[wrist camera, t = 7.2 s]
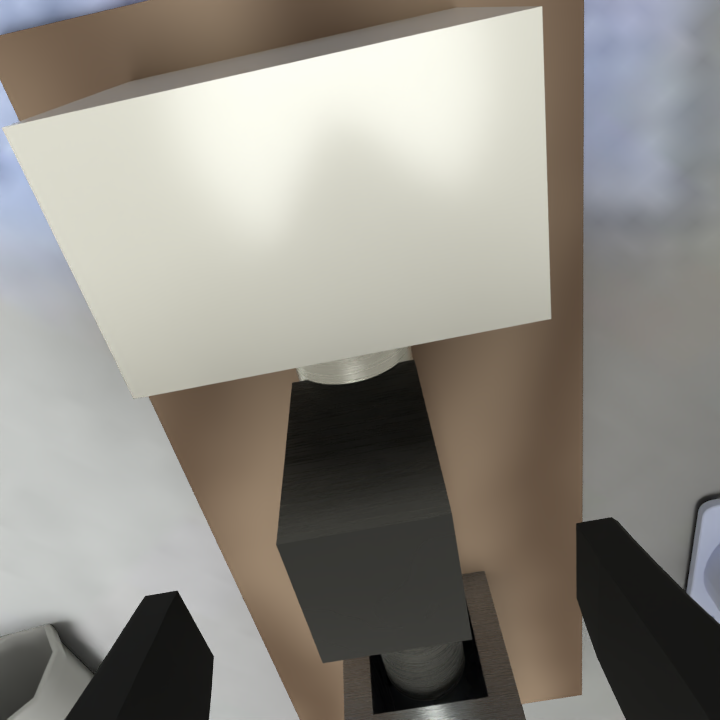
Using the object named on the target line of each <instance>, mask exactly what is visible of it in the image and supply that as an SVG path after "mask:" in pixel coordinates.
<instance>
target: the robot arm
mask: <svg viewBox="0 0 720 720" xmlns="http://www.w3.org/2000/svg"><path fill="white" fill-rule="evenodd" d="M576 598H577V601H578V604H579V607H580V610H581V613H582V616H583V619H584V621H585V624H586V627H587V630H588V633H589V636H590V639H591V641H592V644H593V647H594V650H595V653H596V655H597V658H598V660H599V662H600V665H601V667H602V669H603V671H604V673H605V675H606V678H607V680H608V682H609V684H610V686H611V688H612V691H613V693H614V695H615V697H616V699H617V701H618V703H619V706H620V708H621V710H622V712H623V714H624V716H625V718H626V720H720V624H719V623H720V499H714V500H710V501H707V502H705V503H703V504H702V505H701V506H700V508H699V511H698V517H697V524H696V530H695V537H694V544H693V551H692V558H691V564H690V571H689V578H688V585H687V592H685V591H684V590H683V589H682V588H681V587H680V586H679V585H678V584H677V583H676V582H675V581H674V580H673V579H672V578H671V577H670V576H669V575H668V574H667V573H666V572H665V571H664V570H663V569H662V568H661V567H660V566H659V565H658V564H657V563H656V562H655V561H654V560H653V559H652V558H651V557H650V556H649V554H648V553H647V552H646V551H645V550H644V549H643V548H642V547H641V546H640V545H639V544H638V543H637V542H636V541H635V540H634V539H633V538H632V536H631V535H630V534H629V533H628V532H627V531H626V530H625V529H624V528H623V527H622V526H621V524H620V523H619V522H618V521H616V520H615V519H613V518H612V517H611V518H605V519H599V520H593V521H587V522H581V523H576ZM213 659H214V656H213V654H212V653H211V651H210V649H209V647H208V645H207V643H206V642H205V640H204V638H203V636H202V634H201V633H200V631H199V629H198V627H197V625H196V624H195V622H194V620H193V618H192V616H191V614H190V613H189V611H188V609H187V607H186V605H185V604H184V602H183V600H182V598H181V596H180V595H179V593H178V591H173V592H167V593H161V594H155V595H149V596H145V597H144V599H143V600H142V602H141V603H140V605H139V606H138V608H137V609H136V611H135V612H134V614H133V615H132V617H131V618H130V620H129V621H128V623H127V625H126V626H125V628H124V629H123V631H122V632H121V634H120V636H119V637H118V639H117V640H116V642H115V643H114V645H113V646H112V648H111V650H110V651H109V653H108V654H107V656H106V657H105V659H104V660H103V662H102V664H101V665H100V667H99V668H98V670H97V671H96V673H95V674H94V676H93V678H92V679H91V681H90V682H89V684H88V685H87V687H86V688H85V690H84V691H83V693H82V694H81V696H80V697H79V699H78V700H77V702H76V703H75V705H74V706H73V708H72V709H71V711H70V712H69V713H68V715H67V716H66V718H65V719H64V720H209V712H210V701H211V690H212V675H213Z"/></svg>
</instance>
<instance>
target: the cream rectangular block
mask: <svg viewBox="0 0 720 720" xmlns="http://www.w3.org/2000/svg"><path fill="white" fill-rule="evenodd" d="M2 129H3V131H4V133H5V135H6V137H7V139H8V141H9V143H10V145H11V148H12V150H13V152H14V154H15V156H16V158H17V160H18V162H19V164H20V166H21V168H22V170H23V172H24V174H25V176H26V178H27V180H28V183H29V185H30V187H31V189H32V191H33V193H34V195H35V197H36V199H37V201H38V203H39V205H40V207H41V209H42V211H43V213H44V215H45V218H46V220H47V222H48V224H49V226H50V228H51V230H52V232H53V234H54V236H55V238H56V240H57V242H58V244H59V246H60V248H61V250H62V252H63V255H64V257H65V259H66V261H67V263H68V265H69V267H70V269H71V271H72V273H73V275H74V277H75V279H76V281H77V283H78V285H79V287H80V290H81V292H82V294H83V296H84V298H85V300H86V302H87V304H88V306H89V308H90V310H91V312H92V314H93V316H94V318H95V320H96V322H97V324H98V327H99V329H100V331H101V333H102V335H103V337H104V339H105V341H106V343H107V345H108V347H109V349H110V351H111V353H112V355H113V357H114V359H115V362H116V364H117V366H118V368H119V370H120V372H121V374H122V376H123V378H124V380H125V382H126V384H127V386H128V388H129V390H130V392H131V394H132V397H133V399H137V398H142V397H147V396H153V395H158V394H163V393H168V392H173V391H179V390H184V389H189V388H194V387H199V386H205V385H210V384H215V383H220V382H225V381H231V380H236V379H241V378H246V377H251V376H257V375H262V374H267V373H272V372H277V371H283V370H288V369H293V368H298V367H303V366H309V365H314V364H319V363H324V362H329V361H335V360H340V359H345V358H350V357H355V356H361V355H366V354H371V353H376V352H381V351H387V350H392V349H397V348H402V347H407V346H413V345H418V344H423V343H428V342H433V341H439V340H444V339H449V338H454V337H459V336H465V335H470V334H475V333H480V332H485V331H491V330H496V329H501V328H506V327H511V326H517V325H522V324H527V323H532V322H537V321H543V320H548V319H551V295H550V260H549V225H548V191H547V156H546V121H545V86H544V51H543V17H542V6H521V7H455V8H451V9H447V10H442V11H438V12H433V13H429V14H425V15H420V16H416V17H411V18H407V19H402V20H398V21H394V22H389V23H385V24H380V25H376V26H372V27H367V28H363V29H358V30H354V31H350V32H345V33H341V34H336V35H332V36H328V37H323V38H319V39H314V40H310V41H306V42H301V43H297V44H292V45H288V46H283V47H279V48H275V49H270V50H266V51H261V52H257V53H253V54H248V55H244V56H239V57H235V58H231V59H226V60H222V61H217V62H213V63H209V64H204V65H200V66H195V67H191V68H187V69H182V70H178V71H173V72H169V73H164V74H160V75H156V76H151V77H147V78H142V79H138V80H134V81H129V82H127V83H124V84H121V85H118V86H116V87H113V88H110V89H107V90H105V91H102V92H99V93H96V94H94V95H91V96H88V97H85V98H83V99H80V100H77V101H74V102H72V103H69V104H66V105H63V106H61V107H58V108H55V109H52V110H49V111H47V112H44V113H41V114H38V115H36V116H33V117H30V118H27V119H25V120H22V121H19V122H16V123H14V124H11V125H8V126H5V127H3V128H2Z"/></svg>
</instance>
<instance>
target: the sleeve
mask: <svg viewBox="0 0 720 720" xmlns="http://www.w3.org/2000/svg"><path fill="white" fill-rule="evenodd" d="M462 579H463V586H464V592H465V598H466V605H467V611H468V617H469V623H470V630H471V636H472V640H465V641H462V644H463V649H464V655H465V668H464V672H463V675H462V677H461V680H460V681H459V683H458V684H457V686H456V687H455V688H454V689H453V690H452V691H451V692H449V693H448V694H447V695H445V696H443V697H441V698H439V699H436V700H431V701H418V700H413V699H410V698H408V697H406V696H404V695H402V694H401V693H399V692H398V691H397V690H396V689H395V688H394V686H393V685H392V684H391V682H390V680H389V678H388V676H387V673H386V669H385V666H384V663H383V659H382V656H381V654H378V655H372V656H366V657H359V658H353V659H347V660H343V681H344V720H526V719H525V715H524V711H523V708H522V704H521V700H520V697H519V693H518V690H517V686H516V682H515V679H514V675H513V672H512V668H511V664H510V661H509V657H508V654H507V650H506V646H505V643H504V639H503V636H502V632H501V628H500V625H499V621H498V617H497V614H496V610H495V607H494V603H493V599H492V596H491V592H490V589H489V585H488V581H487V578H486V574H485V571H479V572H473V573H467V574H462Z"/></svg>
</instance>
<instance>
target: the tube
mask: <svg viewBox="0 0 720 720" xmlns="http://www.w3.org/2000/svg"><path fill="white" fill-rule="evenodd" d="M93 676H94V674H93V673H92V672H91V671H90V670H89V669H88V668H87V667H86V666H85V665H84V664H83V663H82V662H81V661H80V660H79V659H78V658H77V657H76V656H75V655H74V654H73V653H72V652H71V651H70V650H69V649H68V648H67V647H66V646H65V645H64V644H63V643H62V642H61V641H60V639H59V636H58V633H57V631H56V629H55V628H54V627H53V626H52V625H51V624H46V625H43V626H39V627H35V628H31V629H27V630H24V631H20V632H16V633H12V634H8V635H5V636H1V637H0V720H64V719H65V718H66V716H67V715H68V713H69V712H70V711H71V709H72V708H73V706H74V705H75V703H76V702H77V700H78V699H79V697H80V696H81V694H82V693H83V691H84V690H85V688H86V687H87V685H88V684H89V682H90V681H91V679H92V678H93Z"/></svg>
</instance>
